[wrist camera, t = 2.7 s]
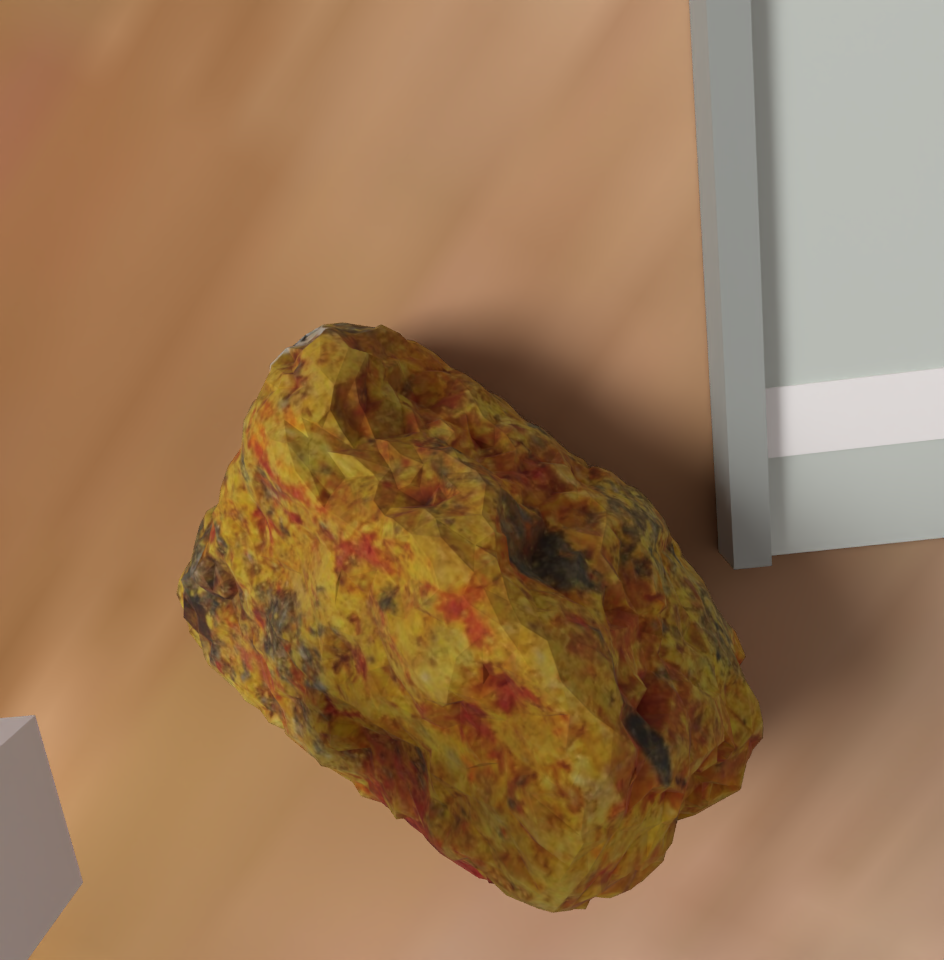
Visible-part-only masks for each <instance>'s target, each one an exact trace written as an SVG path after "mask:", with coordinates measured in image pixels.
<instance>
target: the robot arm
mask: <svg viewBox="0 0 944 960" xmlns="http://www.w3.org/2000/svg"><path fill="white" fill-rule="evenodd" d="M82 883H83V881H82V877H81V874H80V870H79V867H78V863H77V860H76V856H75V853H74V849H73V846H72V842H71V839H70V835H69V832H68V828H67V825H66V821H65V818H64V814H63V811H62V807H61V804H60V800H59V797H58V793H57V790H56V786H55V783H54V780H53V776H52V773H51V769H50V766H49V762H48V759H47V755H46V752H45V748H44V745H43V741H42V738H41V734H40V731H39V727H38V724H37V720H36V717H35V715H31V716H20V717H9V718H0V960H28V958H29V957H30V955H31V954H32V953H33V951H34V950H35V948H36V947H37V946H38V944H39V943H40V941H41V940H42V939H43V937H44V936H45V934H46V933H47V932H48V930H49V929H50V928H51V926H52V925H53V923H54V922H55V921H56V919H57V918H58V916H59V915H60V914H61V912H62V911H63V909H64V908H65V907H66V905H67V904H68V902H69V901H70V900H71V898H72V897H73V895H74V894H75V893H76V891H77V890H78V889H79V887H80V886H81V884H82Z"/></svg>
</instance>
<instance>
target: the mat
mask: <svg viewBox="0 0 944 960" xmlns="http://www.w3.org/2000/svg"><path fill="white" fill-rule="evenodd" d="M689 7H690V25H691V44H692V62H693V81H694V100H695V118H696V137H697V155H698V174H699V193H700V211H701V230H702V248H703V267H704V286H705V304H706V323H707V342H708V360H709V379H710V397H711V416H712V435H713V453H714V472H715V490H716V509H717V528H718V546H719V553H720V554H721V555H722V556H723V557H724V558H725V559H726V561H727V562H728V563H729V564H730V565H731V566H732V568H733V569H734V570H735V569H745V568H754V567H764V566H772V556H773V555H782V554H792V553H802V552H811V551H821V550H830V549H840V548H850V547H859V546H869V545H878V544H888V543H898V542H907V541H917V540H926V539H936V538H944V0H689Z"/></svg>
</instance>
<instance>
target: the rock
mask: <svg viewBox="0 0 944 960" xmlns="http://www.w3.org/2000/svg"><path fill="white" fill-rule="evenodd" d="M177 596H178V598H179V600H180V602H181V605H182V607H183V609H184V618H185V619H186V621H187V623H188V625H189V632H190V634H191V635H192V636H193V638H194V639H195V640H196V642H197V643H198V644H199V646H200V647H201V648H202V649H203V653H204V657H205V659H206V661H207V663H208V664H209V666H210V667H211V668H213V669H214V670H215V671H216V672H217V673H218V674H219V675H221V676H222V677H223V678H224V679H225V680H226V681H227V682H229V683H230V684H231V685H232V686H233V687H235V688H236V689H237V690H238V691H239V693H240V694H241V695H242V697H243V698H244V699H245V701H247V702H248V703H250V704H251V705H253V706H255V707H256V708H258V709H260V710H261V712H262V713H263V715H264V716H265V718H266V719H267V720H268V722H269V723H271V724H273V725H276V726H278V727H280V728H282V729H284V730H285V734H286V735H287V736H288V737H289V738H291V739H292V740H293V741H294V742H295V743H297V744H298V745H299V746H300V747H301V748H303V749H304V750H305V751H306V752H308V753H309V754H310V755H311V756H313V757H314V758H315V759H316V760H317V761H318V762H319V764H320V765H321V766H324V767H328V768H330V769H332V770H333V771H335V772H337V773H338V774H340V775H342V776H343V777H345V778H347V779H348V780H350V781H352V782H353V783H354V785H355V787H356V788H357V790H358V792H359V793H360V795H361V796H362V797H365V798H369V799H372V800H375V801H378V802H382V803H383V804H384V805H385V806H386V807H388V808H389V809H390V810H391V812H392V814H393V815H394V817H395V818H396V819H403V818H404V819H405V820H406V821H407V822H408V823H409V824H410V825H411V826H413V827H414V828H415V829H417V830H418V831H419V832H421V833H422V834H423V835H424V837H425V838H426V839H427V841H428V842H429V843H430V844H431V845H432V846H433V847H435V848H436V849H437V850H438V851H439V852H440V853H441V854H442V855H444V856H445V857H447V858H448V859H450V860H451V861H453V862H455V863H456V864H458V865H459V866H461V867H462V868H464V869H466V870H467V871H469V872H470V873H472V874H473V875H475V876H477V877H478V878H481V879H486V880H488V882H489V883H493V884H495V885H496V886H497V887H498V888H499V889H500V890H501V891H502V892H504V893H505V894H506V895H507V896H509V897H512V898H514V899H517V900H519V901H521V902H524V903H526V904H529V905H531V906H534V907H536V908H538V909H541V910H545V911H549V912H553V913H554V912H561V911H568V910H573V909H586V908H587V905H588V903H589V901H590V899H592V898H594V897H601V898H612V897H614V896H616V895H619V894H621V893H623V892H626V891H628V890H631V889H632V888H633V887H634V886H636V885H637V884H638V883H640V882H642V881H643V880H644V879H645V878H646V877H647V876H648V875H649V874H650V873H651V872H652V871H654V870H655V869H656V868H657V867H658V866H659V865H660V864H661V863H662V862H663V861H664V857H665V853H666V851H667V849H668V848H669V847H670V845H671V844H672V841H673V837H674V832H675V828H676V823H677V820H680V819H683V818H687V817H690V816H693V815H696V814H697V813H699V812H701V811H703V810H705V809H706V808H708V807H710V806H712V805H713V804H715V803H717V802H719V801H721V800H722V799H724V798H726V797H728V796H730V795H732V794H733V793H735V792H737V791H739V790H740V789H741V785H742V780H743V776H744V772H745V768H746V763H747V761H748V759H749V758H750V755H751V753H752V750H753V749H754V747H755V746H756V745H757V744H758V743H759V742H760V741H761V739H762V738H763V720H762V716H761V711H760V706H759V702H758V700H757V699H756V697H755V695H754V694H753V692H752V690H751V689H750V687H749V685H748V684H747V682H746V680H745V678H744V675H743V673H742V671H741V668H740V664H741V663H742V661H743V660H744V658H745V654H744V651H743V649H742V647H741V644H740V642H739V639H738V637H737V634H736V632H735V631H734V630H733V629H732V627H731V626H730V625H729V624H728V623H727V622H726V621H725V619H724V618H723V616H722V615H721V614H720V612H719V611H718V609H717V607H716V606H715V604H714V603H713V601H712V598H711V596H710V594H709V592H708V590H707V588H706V586H705V583H704V581H703V580H702V579H701V577H700V576H699V575H698V574H697V573H696V572H695V570H694V568H693V567H692V566H691V565H690V564H689V563H688V562H687V561H686V560H685V559H684V557H683V555H682V552H681V550H680V548H679V545H678V543H677V542H676V541H675V540H674V539H673V538H672V537H671V535H670V532H669V529H668V527H667V525H666V523H665V520H664V518H663V517H662V516H661V515H660V513H659V512H658V511H657V510H656V509H655V507H654V506H653V505H652V504H651V502H650V501H649V500H648V499H647V498H646V497H645V496H644V495H643V494H642V493H641V492H640V491H639V490H638V489H637V488H634V487H631V486H629V485H626V484H625V483H624V482H623V481H622V480H621V479H619V478H618V477H617V476H616V475H615V474H614V473H612V472H611V471H608V470H606V469H603V468H600V467H598V466H595V467H591V468H589V467H588V465H587V464H586V462H585V461H584V460H583V459H581V458H579V457H577V456H575V455H573V454H571V453H569V452H568V451H567V450H566V449H565V448H564V447H562V446H561V445H560V444H559V443H558V442H557V441H556V440H555V439H554V438H553V437H552V436H551V435H549V434H548V433H547V432H546V431H545V430H544V429H543V428H542V427H539V426H535V425H533V424H532V423H530V422H528V421H526V420H524V419H522V418H521V417H520V416H519V415H518V414H517V413H516V412H515V410H514V409H513V408H512V407H511V406H510V405H509V404H508V403H507V402H506V401H505V400H504V399H502V398H500V397H499V396H497V395H495V394H492V393H489V392H488V391H487V390H486V389H484V388H483V387H482V386H481V385H480V384H478V383H477V382H476V381H474V380H473V379H471V378H470V377H469V376H467V375H466V374H464V373H462V372H460V371H457V370H455V369H453V368H450V367H449V366H448V365H447V364H446V363H445V362H444V361H443V360H442V359H441V358H440V357H439V356H438V355H436V354H435V353H434V352H432V351H430V350H429V349H427V348H425V347H424V346H422V345H420V344H418V343H417V342H415V341H411V340H406V339H405V338H404V337H403V336H402V335H401V334H400V333H398V332H396V331H393V330H391V329H389V328H387V327H385V326H383V325H379V326H378V327H376V328H375V327H368V326H361V325H355V324H349V323H335V324H326V325H322V326H320V327H319V328H317V329H315V330H313V331H312V332H310V333H308V334H306V335H305V336H304V337H303V338H302V339H300V340H299V341H298V342H297V343H296V344H295V345H293V346H292V347H288V348H286V349H285V350H284V351H283V352H282V353H281V354H280V355H279V356H278V357H277V358H276V359H275V360H274V361H273V362H272V363H271V364H270V373H269V375H268V377H267V379H266V381H265V383H264V385H263V387H262V389H261V391H260V393H259V395H258V397H257V399H256V400H255V401H254V402H253V403H252V405H251V407H250V409H249V411H248V413H247V415H246V417H245V419H244V425H243V436H242V447H241V449H240V450H239V452H238V453H237V454H236V456H235V457H234V459H233V460H232V461H231V463H230V464H229V466H228V468H227V471H226V474H225V477H224V480H223V483H222V486H221V489H220V496H219V503H218V504H217V505H216V506H214V507H213V508H211V509H210V510H208V511H207V512H206V514H205V516H204V517H203V519H202V521H201V523H200V526H199V530H198V533H197V537H196V541H195V545H194V550H193V554H192V558H191V561H190V562H189V564H188V565H187V567H186V568H185V570H184V572H183V574H182V576H181V577H180V579H179V584H178V589H177Z"/></svg>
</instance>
